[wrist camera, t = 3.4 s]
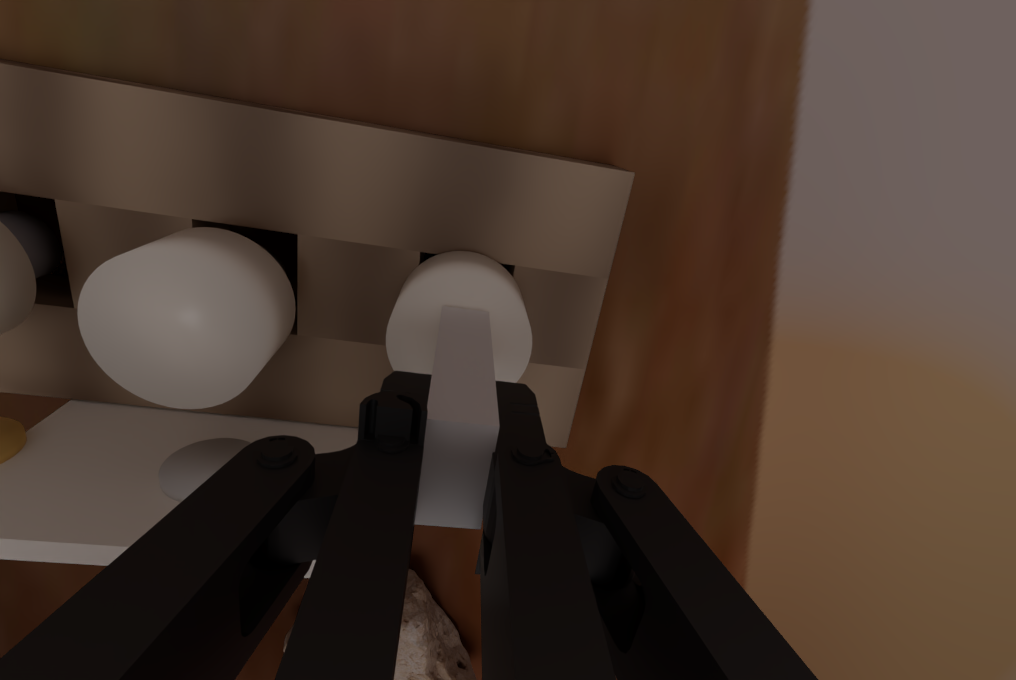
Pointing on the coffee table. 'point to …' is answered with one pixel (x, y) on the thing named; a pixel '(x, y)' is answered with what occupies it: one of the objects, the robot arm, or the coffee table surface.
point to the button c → (460, 286)
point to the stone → (427, 639)
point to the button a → (23, 264)
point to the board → (298, 231)
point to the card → (118, 473)
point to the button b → (187, 316)
